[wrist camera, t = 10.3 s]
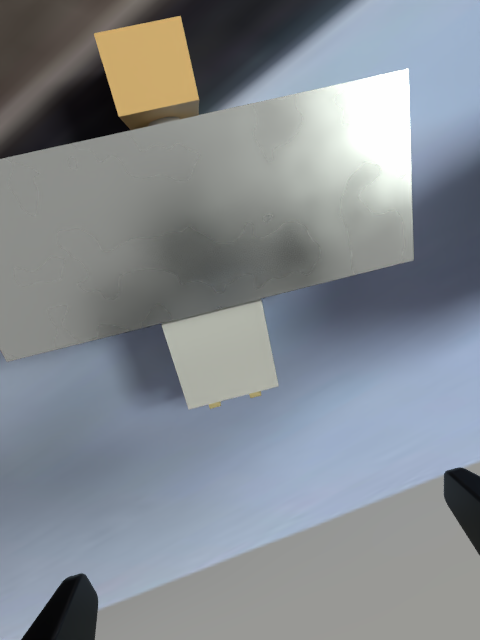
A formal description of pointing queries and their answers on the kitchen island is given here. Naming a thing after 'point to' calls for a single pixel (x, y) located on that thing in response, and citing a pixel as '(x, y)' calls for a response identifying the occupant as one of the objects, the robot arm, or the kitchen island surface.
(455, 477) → the robot arm
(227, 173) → the white bridge block
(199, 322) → the dumbbell shaped bar
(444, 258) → the kitchen island surface
